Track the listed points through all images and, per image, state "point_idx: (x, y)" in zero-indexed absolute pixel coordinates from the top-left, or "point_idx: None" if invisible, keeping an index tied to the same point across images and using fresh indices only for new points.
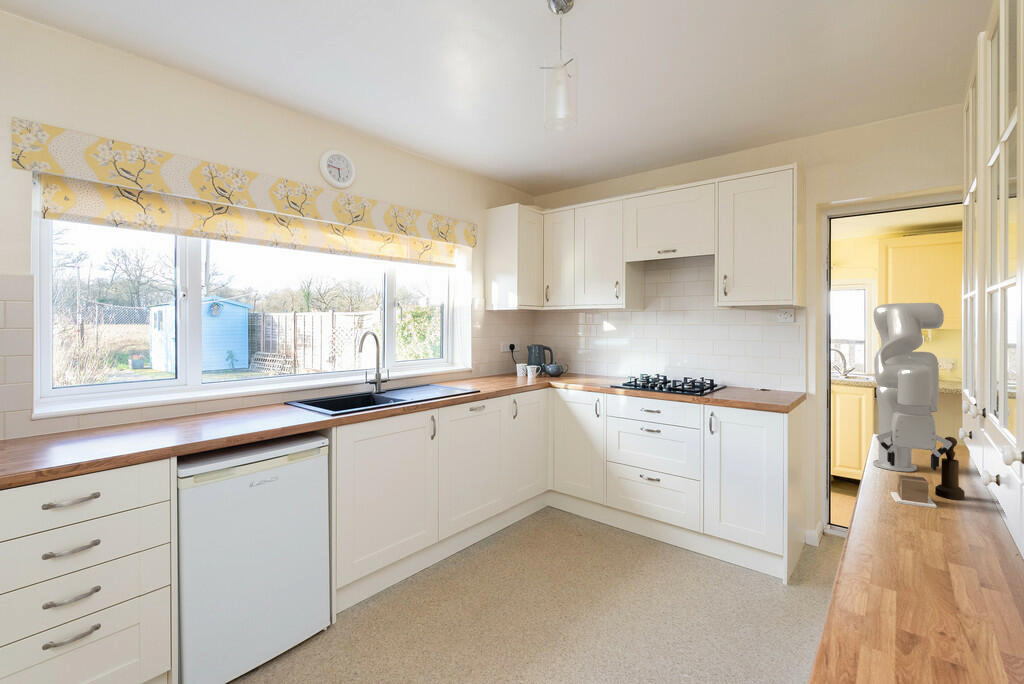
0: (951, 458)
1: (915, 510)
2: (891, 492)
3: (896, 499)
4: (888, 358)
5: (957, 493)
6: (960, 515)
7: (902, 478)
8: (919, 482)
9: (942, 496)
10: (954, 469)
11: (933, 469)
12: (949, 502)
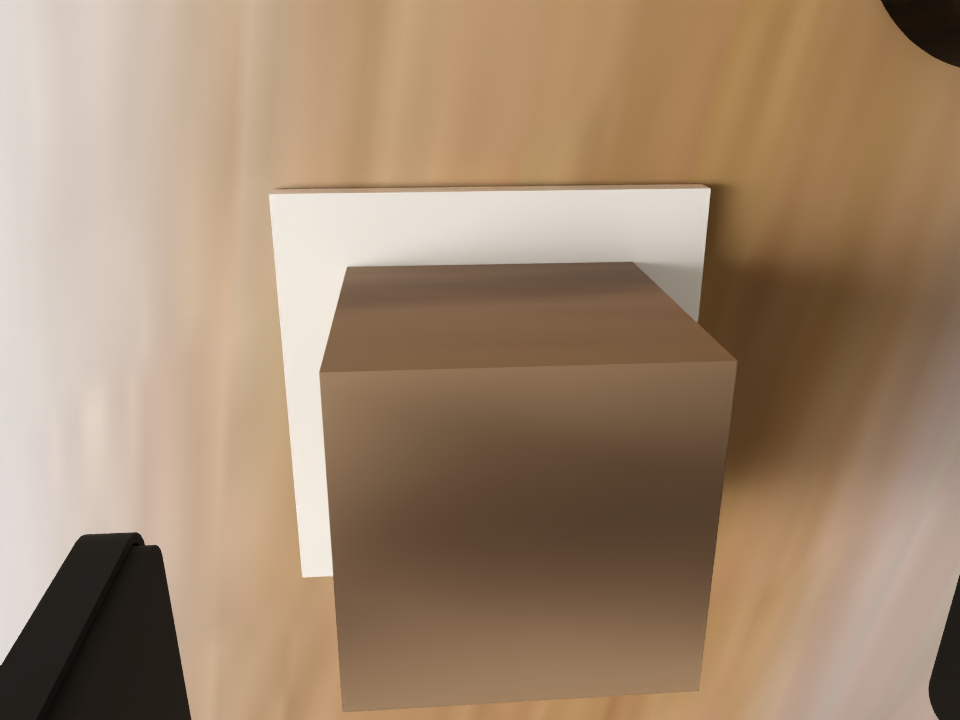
0: None
1: (450, 712)
2: (276, 229)
3: (307, 533)
4: None
5: None
6: (808, 655)
7: (361, 644)
8: (580, 688)
9: (906, 28)
10: None
11: (936, 702)
12: (891, 234)
